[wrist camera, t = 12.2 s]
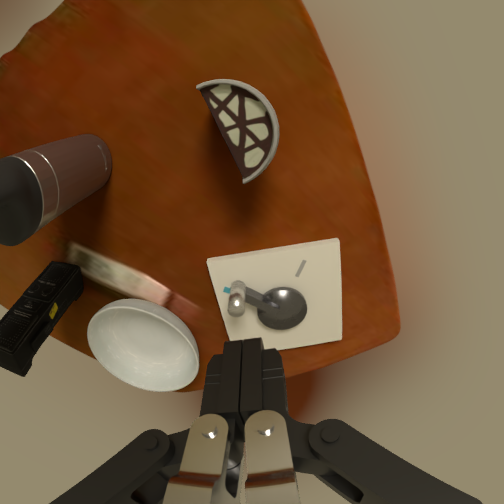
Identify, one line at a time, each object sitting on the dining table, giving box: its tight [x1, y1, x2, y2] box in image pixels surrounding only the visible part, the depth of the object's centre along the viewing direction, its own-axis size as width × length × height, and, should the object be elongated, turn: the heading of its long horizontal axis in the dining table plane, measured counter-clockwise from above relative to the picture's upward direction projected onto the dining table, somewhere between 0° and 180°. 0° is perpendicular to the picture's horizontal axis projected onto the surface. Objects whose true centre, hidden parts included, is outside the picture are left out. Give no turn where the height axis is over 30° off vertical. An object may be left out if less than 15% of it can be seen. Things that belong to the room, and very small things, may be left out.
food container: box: [196, 79, 279, 184], centre depth 33 cm, size 12×6×10 cm, turn 24°
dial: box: [227, 280, 307, 330], centre depth 45 cm, size 13×8×6 cm, turn 60°
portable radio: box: [0, 261, 83, 377], centre depth 37 cm, size 8×6×25 cm
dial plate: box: [207, 238, 342, 350], centre depth 49 cm, size 20×20×1 cm
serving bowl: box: [87, 299, 199, 392], centre depth 50 cm, size 21×21×7 cm
